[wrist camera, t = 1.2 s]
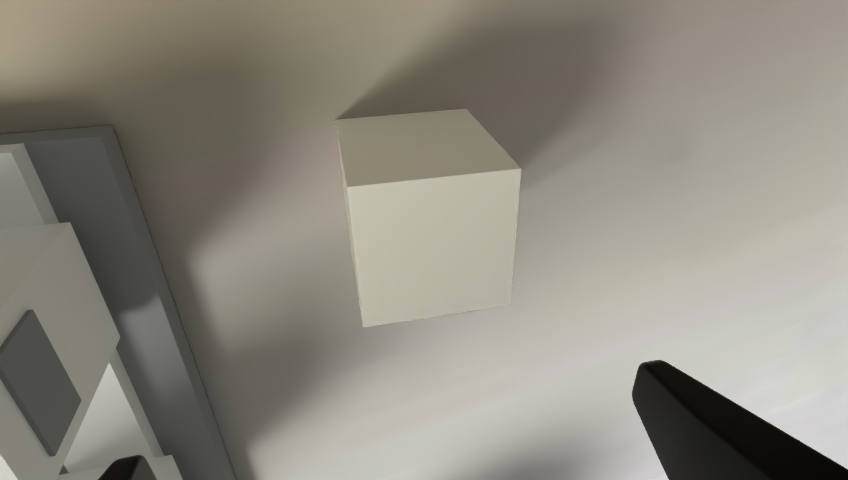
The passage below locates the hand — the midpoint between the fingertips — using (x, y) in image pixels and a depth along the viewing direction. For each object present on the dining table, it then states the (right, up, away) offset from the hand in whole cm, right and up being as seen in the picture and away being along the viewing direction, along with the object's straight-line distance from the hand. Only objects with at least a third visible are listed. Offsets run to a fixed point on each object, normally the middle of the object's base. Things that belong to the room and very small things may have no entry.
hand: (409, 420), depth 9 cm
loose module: (-1, +6, +11) cm, 13 cm away
